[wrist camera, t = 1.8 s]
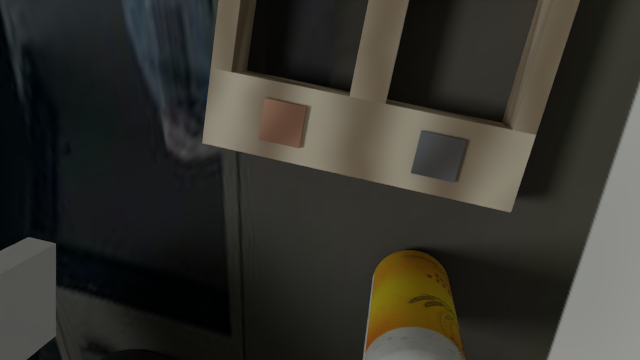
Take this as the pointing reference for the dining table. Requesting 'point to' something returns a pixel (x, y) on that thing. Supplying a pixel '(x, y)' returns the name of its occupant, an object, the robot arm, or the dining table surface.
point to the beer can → (412, 311)
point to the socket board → (382, 111)
